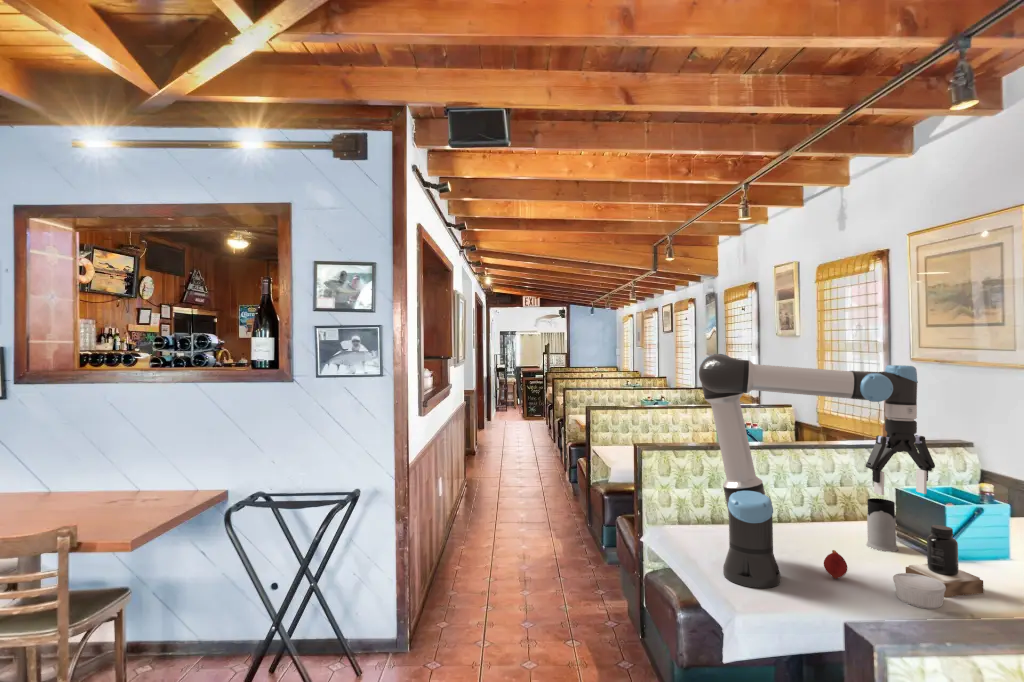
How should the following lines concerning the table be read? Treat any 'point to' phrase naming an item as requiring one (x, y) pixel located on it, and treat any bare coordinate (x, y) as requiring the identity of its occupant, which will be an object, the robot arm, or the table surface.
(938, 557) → the supplement bottle
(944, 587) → the ramekin
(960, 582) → the plinth
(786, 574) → the table surface
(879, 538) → the glass holder
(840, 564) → the onion
